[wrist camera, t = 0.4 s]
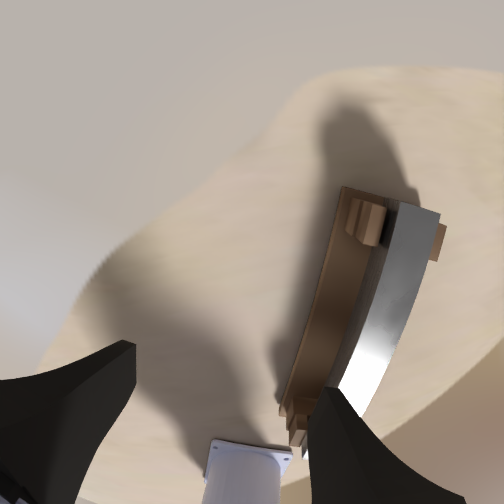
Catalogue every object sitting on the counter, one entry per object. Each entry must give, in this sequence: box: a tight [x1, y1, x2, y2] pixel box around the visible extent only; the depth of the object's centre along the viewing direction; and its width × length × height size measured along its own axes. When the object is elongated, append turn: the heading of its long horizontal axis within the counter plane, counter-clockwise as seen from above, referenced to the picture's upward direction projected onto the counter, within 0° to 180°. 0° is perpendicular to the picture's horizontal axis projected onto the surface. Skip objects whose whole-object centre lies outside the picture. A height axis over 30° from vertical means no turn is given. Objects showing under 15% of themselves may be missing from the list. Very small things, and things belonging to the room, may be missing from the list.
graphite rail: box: [301, 197, 441, 460], centre depth 16 cm, size 18×2×2 cm, turn 170°
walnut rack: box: [279, 187, 447, 447], centre depth 18 cm, size 18×6×5 cm, turn 170°
